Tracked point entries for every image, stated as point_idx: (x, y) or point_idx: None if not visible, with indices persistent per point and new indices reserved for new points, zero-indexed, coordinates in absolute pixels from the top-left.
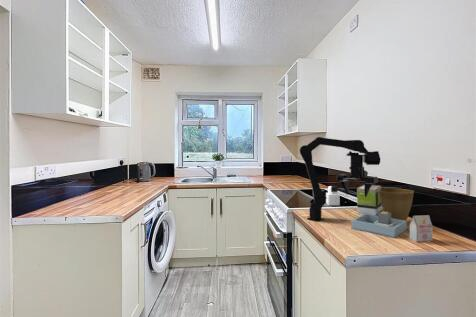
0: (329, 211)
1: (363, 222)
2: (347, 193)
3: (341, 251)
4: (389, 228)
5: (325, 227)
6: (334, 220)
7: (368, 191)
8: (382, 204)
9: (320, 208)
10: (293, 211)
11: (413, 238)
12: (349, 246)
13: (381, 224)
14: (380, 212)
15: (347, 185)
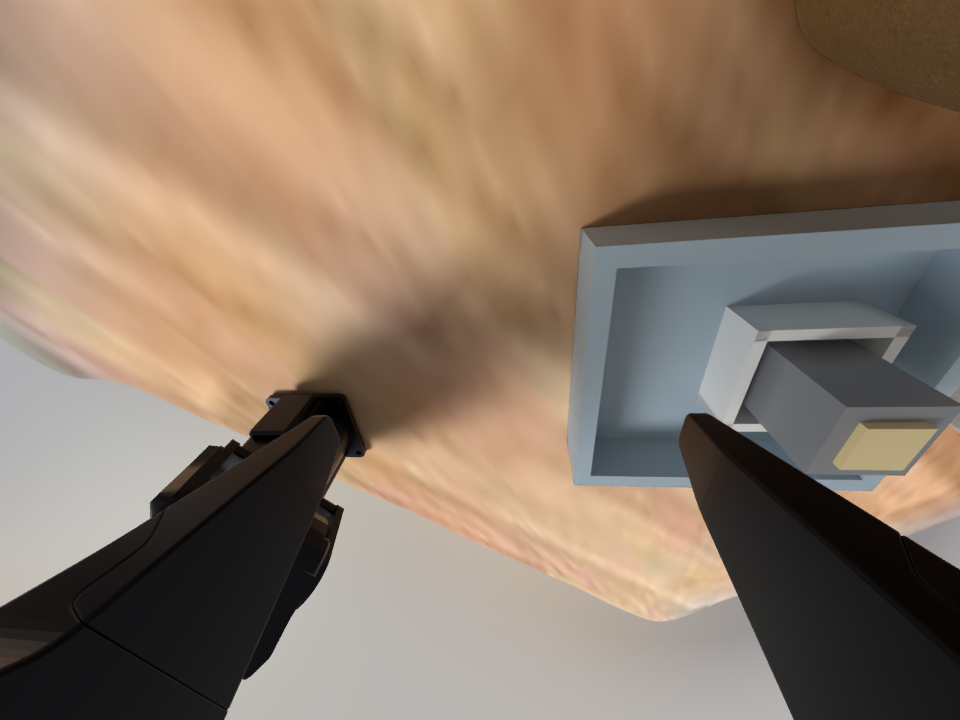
0: (117, 122)
1: (658, 486)
2: (331, 457)
3: (638, 613)
4: (833, 485)
5: (461, 494)
6: (397, 369)
7: (840, 506)
8: (951, 46)
9: (339, 516)
10: (81, 368)
11: (957, 430)
12: (645, 585)
13: None
14: (828, 443)
15: (165, 625)
